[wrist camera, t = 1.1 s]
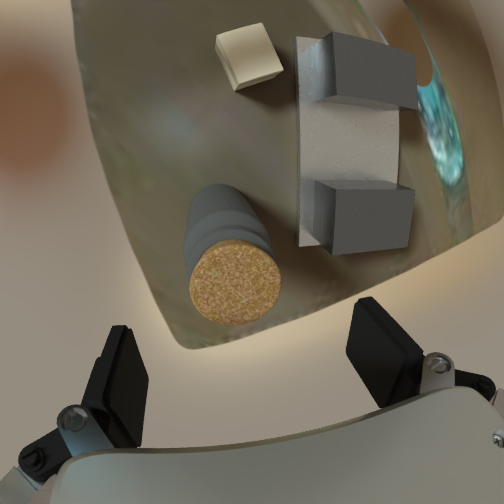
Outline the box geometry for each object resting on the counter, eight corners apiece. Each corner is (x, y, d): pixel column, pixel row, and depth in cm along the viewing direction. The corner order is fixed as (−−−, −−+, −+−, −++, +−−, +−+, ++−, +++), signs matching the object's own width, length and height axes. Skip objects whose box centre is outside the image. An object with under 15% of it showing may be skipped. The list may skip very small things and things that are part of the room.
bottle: (234, 173, 27) (268, 213, 13) (257, 226, 29) (305, 308, 15) (179, 199, 27) (156, 265, 13) (205, 249, 29) (210, 348, 15)
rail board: (293, 39, 22) (314, 19, 16) (390, 58, 23) (423, 49, 18) (296, 243, 30) (316, 267, 25) (386, 235, 32) (415, 254, 27)
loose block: (214, 48, 21) (217, 35, 18) (253, 36, 21) (261, 22, 18) (234, 91, 23) (239, 83, 20) (272, 78, 23) (283, 69, 20)
